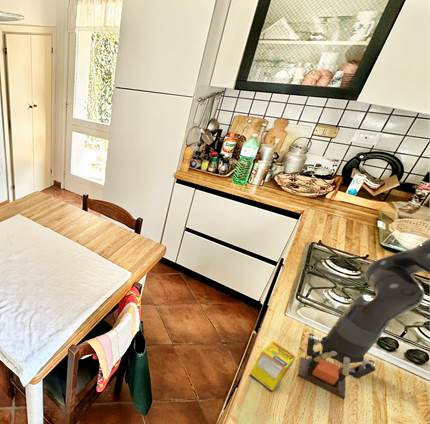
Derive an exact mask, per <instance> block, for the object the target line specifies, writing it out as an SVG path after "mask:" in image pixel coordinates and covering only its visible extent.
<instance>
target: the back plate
mask: <svg viewBox="0 0 430 424" xmlns="http://www.w3.org/2000/svg"><path fill="white" fill-rule="evenodd" d="M311 358H312V357H310V356H308V358H306V357H304V356H300V358H299V364H298V371H297V377H299V378H301V379H303V380H305V381H307V382H308V383H311V384H312V385H314V386H316V387H318V388H320V389H323V390H325V391H326V392H328V393H330V394H333V395H334V396H336V397H338V398H340V399H342V400H344V399H345V398H346V377H345V378H344V380H343V381H341V382H340V381H338V382H336V383H335V384H334V385H332V384H330V383H328V382H326V381H324V380H322V379H320V378H318V377H316V376H314V375H312V373H313V370H312V369H310V366H309V361H310V359H311Z"/></svg>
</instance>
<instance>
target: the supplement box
mask: <svg viewBox="0 0 430 424" xmlns="http://www.w3.org/2000/svg"><path fill="white" fill-rule="evenodd" d="M296 358H297V355H295V354H294V353H293V352H291V351H289V350H288V349H286V348H285V347H283V346H282V345H281V344H279V343H278V342H276V341H274V340H272V341H271V342H270V343H269V344H268V345H266V347H265V348H263V350H262V351H261V352H260V354H259V356H258V357H257V360H256V361H255V363H254V365H253V367H252V369H251V370H250V373H249V377H251V378H252V379H253V380H254V381H256V382H257V383H259V384H260V385H261V386H263V387H264V388H265V389H266V390H268V391H269V392H270V393H272V392H273V391H274V390H275V389H276V388H277V387H278V386H279V384H280V383H281V382H282V380H283V379H284V378H285V376H286V374H287V373H288V371H289V370H290V368H291V366H292V365H293V363H294V362H295V360H296Z"/></svg>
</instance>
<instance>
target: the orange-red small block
mask: <svg viewBox="0 0 430 424" xmlns="http://www.w3.org/2000/svg"><path fill="white" fill-rule="evenodd" d="M339 368H340V366H339V365H337V364H335V363H333V362H331V361H329V360H328V359H326V360H324V359H323V360H321V361H319V364H318V365H317V366H316V368H315V369H314V370H313V373H312V375H314V376H316V377H318V378H320V379H322V380H324V381H326V382H328V383H330V384H332V385H334V384H335V383H336V381H337V380H338V379H339Z"/></svg>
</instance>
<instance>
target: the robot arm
mask: <svg viewBox="0 0 430 424" xmlns="http://www.w3.org/2000/svg"><path fill="white" fill-rule="evenodd" d="M423 272H426V273H428V274H430V238H428V239H426V240H425V241H423V242H421V243H420V244H418V245H417V246H415V247H413V248H409V249H406V250H403V251H400V252H397V253H394V254H391V255H388V256H385V257H383V258H380V259H377V260H375V261H373V262H372V263H370V264H369V265H368V266H367V267H366V268H365V270H364V271H363V278H364V280H365V281H366V283H367V284H368V285H369V286H370V288H371V289H372V290H373V292H374V293H375V295H372V294H360V295H357V296H356V297H355V298H354V299H353V301H352V302H351V303H350V304H349V306H348V307H347V308H346V310H345V311H344V312H343V313H342V314H341V315H340V316H339V318H338V319H337V320H336V322H335V323H334V325H333V326H332V328H331V329H330V330H329V331H328V333H327V334H326V335H325V336H323V337H321V338H320V337H318V336H315V334H314V333H309V334H308V338H307V346H306V356H308V357H310V358H311V359H310V361H309V366H310V369H312V370H314V369H315V368H316V366H317V365H318V364H319V361H321V360H323V359H324V360H328V359H332V360H335V361H336V362H338V363H340V364H342V366H339V379H338V380H337V381H336V382H338V381H340V382H341V381H343V380H344V378H345V379H346V378H347V376H348V377H349V376H351V377H352V378H354V379H356V380H357V379H360V378H362V377H364V376H367V375H369V374H371V373H373V372H375V371H376V362H375V361H374V360H372V359H367V358H366V357H365V355H366V354H368V352H369V351H370V349H371V348H373V346H374V345H375V344H377V343H378V340H379V339H380V337H381V336H382V333H383V332H384V331H385V329H386V328H387V327H388V326H389V324H390V323H392V320H394V319H396V318H398V317H400V316H402V315H403V314H405V313H407V312H409V311H411V310H414V309H415V308H416V307H418V306H419V305H420V304H421V303H423V301H424V297H425V289H424V287H423V286H422V285H421V283H419V282H418V280H416V278H415V277H414V276H413V275H416V274H420V273H423ZM319 344H320V345H321V346H320V348H319V349H318V350H316V351H315V350H314V347H316V346H318V345H319ZM356 363H360V364H358V365H356V366H353V367H350V366H351V364H356Z"/></svg>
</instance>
